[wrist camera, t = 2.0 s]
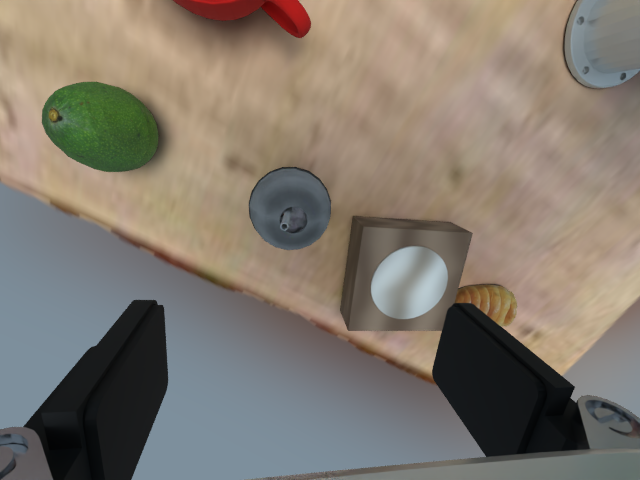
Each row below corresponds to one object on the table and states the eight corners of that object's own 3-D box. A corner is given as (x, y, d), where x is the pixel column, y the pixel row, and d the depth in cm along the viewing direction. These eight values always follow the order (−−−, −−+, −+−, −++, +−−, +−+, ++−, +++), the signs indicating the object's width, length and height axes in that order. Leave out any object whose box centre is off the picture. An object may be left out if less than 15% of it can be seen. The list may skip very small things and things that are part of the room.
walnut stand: (450, 222, 43) (474, 234, 38) (429, 311, 47) (448, 332, 42) (352, 216, 41) (364, 227, 36) (340, 310, 45) (348, 332, 40)
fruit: (155, 84, 33) (95, 57, 22) (179, 160, 36) (137, 171, 24) (78, 96, 32) (-26, 76, 21) (108, 173, 35) (31, 191, 24)
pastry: (441, 315, 48) (455, 329, 45) (456, 276, 46) (472, 287, 43) (492, 322, 50) (510, 336, 47) (509, 285, 48) (528, 296, 45)
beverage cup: (286, 228, 40) (300, 311, 21) (242, 189, 38) (213, 243, 19) (326, 186, 39) (377, 235, 20) (283, 144, 37) (296, 154, 18)
